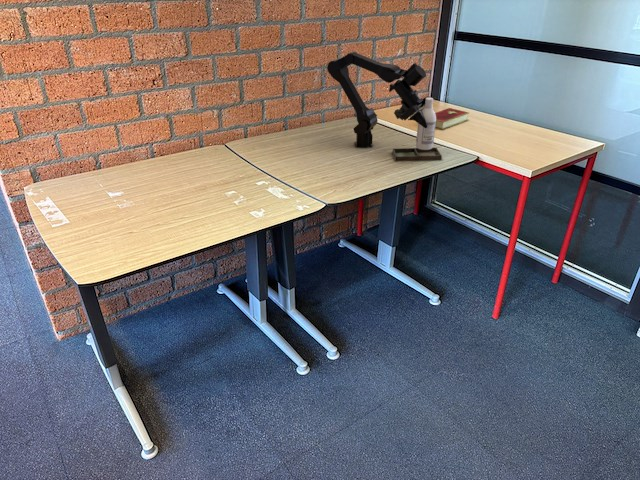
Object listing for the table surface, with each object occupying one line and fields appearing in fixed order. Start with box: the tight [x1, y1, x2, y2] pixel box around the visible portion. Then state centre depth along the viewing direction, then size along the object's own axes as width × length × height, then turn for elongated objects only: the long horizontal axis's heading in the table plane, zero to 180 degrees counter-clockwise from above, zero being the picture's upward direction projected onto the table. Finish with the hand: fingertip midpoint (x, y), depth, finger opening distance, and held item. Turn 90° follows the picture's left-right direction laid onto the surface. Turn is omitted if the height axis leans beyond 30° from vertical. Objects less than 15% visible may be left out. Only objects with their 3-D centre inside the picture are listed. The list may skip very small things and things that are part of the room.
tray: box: [392, 147, 443, 162], centre depth 201 cm, size 18×10×2 cm, turn 91°
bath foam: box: [415, 97, 436, 150], centre depth 194 cm, size 7×7×20 cm
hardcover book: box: [435, 107, 470, 131], centre depth 238 cm, size 12×21×4 cm, turn 132°
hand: (429, 125), depth 194 cm, fingers closed on bath foam, 7 cm apart
